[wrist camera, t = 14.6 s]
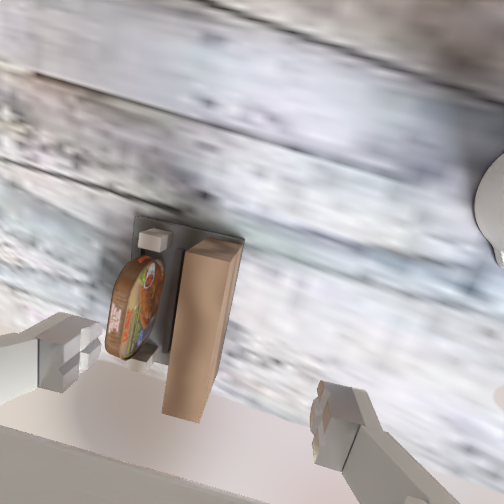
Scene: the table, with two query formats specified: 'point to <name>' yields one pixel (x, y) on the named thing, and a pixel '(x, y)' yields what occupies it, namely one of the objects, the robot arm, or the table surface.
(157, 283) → the tin
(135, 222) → the cabinet
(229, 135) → the table surface
